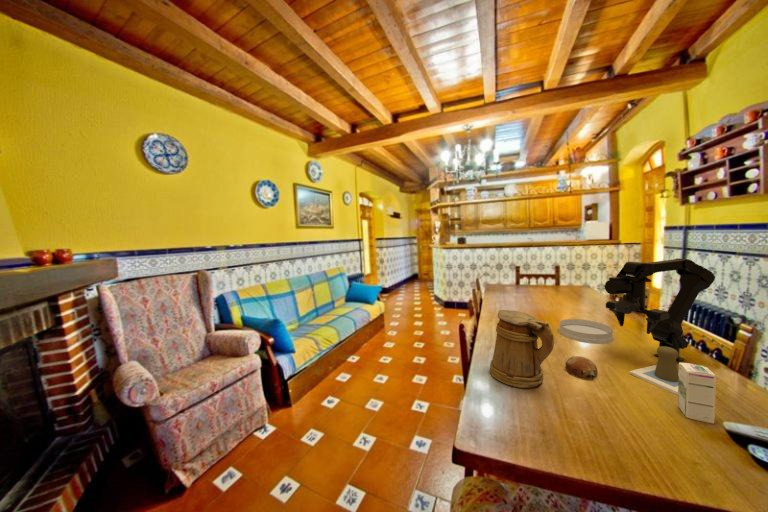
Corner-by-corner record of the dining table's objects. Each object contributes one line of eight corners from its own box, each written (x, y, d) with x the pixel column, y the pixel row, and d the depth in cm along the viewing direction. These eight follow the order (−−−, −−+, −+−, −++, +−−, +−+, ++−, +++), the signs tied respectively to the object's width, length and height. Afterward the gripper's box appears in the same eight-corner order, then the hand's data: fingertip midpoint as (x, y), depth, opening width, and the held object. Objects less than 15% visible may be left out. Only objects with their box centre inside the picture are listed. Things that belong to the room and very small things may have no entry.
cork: (684, 382, 89) (685, 352, 88) (663, 381, 90) (664, 351, 89) (669, 373, 95) (670, 344, 94) (649, 372, 96) (650, 343, 95)
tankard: (506, 359, 114) (505, 304, 112) (566, 383, 94) (567, 317, 92) (480, 372, 104) (479, 313, 102) (541, 403, 85) (541, 330, 82)
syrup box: (715, 424, 72) (718, 375, 71) (684, 417, 75) (686, 370, 74) (704, 412, 77) (707, 365, 75) (676, 406, 80) (678, 361, 79)
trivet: (655, 367, 101) (655, 364, 101) (707, 387, 88) (707, 384, 88) (629, 373, 98) (629, 371, 98) (679, 395, 84) (679, 392, 84)
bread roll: (594, 379, 102) (592, 358, 104) (603, 381, 93) (600, 358, 95) (564, 375, 106) (562, 354, 108) (569, 376, 97) (567, 354, 99)
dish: (625, 343, 123) (626, 333, 122) (579, 345, 123) (579, 335, 123) (589, 326, 145) (589, 317, 144) (549, 328, 145) (549, 320, 145)
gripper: (596, 290, 112) (595, 325, 113) (650, 300, 94) (649, 341, 95) (615, 287, 115) (614, 321, 116) (671, 297, 97) (669, 337, 98)
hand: (634, 329), depth 106 cm, fingers open, 9 cm apart
